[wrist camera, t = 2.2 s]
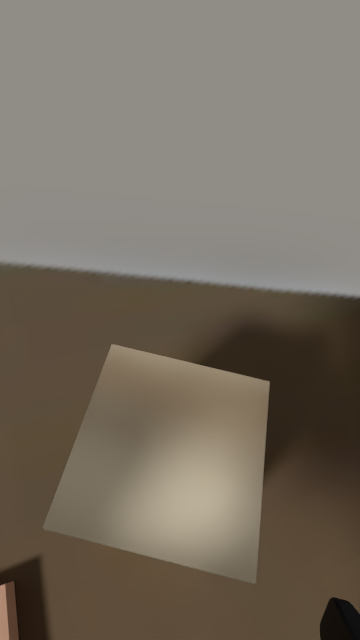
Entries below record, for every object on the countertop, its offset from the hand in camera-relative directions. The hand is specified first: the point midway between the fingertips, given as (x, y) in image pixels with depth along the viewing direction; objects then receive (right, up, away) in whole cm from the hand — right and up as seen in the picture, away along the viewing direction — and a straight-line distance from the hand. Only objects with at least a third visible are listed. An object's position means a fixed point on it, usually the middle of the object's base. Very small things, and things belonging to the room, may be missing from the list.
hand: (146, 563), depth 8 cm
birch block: (0, -3, +10) cm, 10 cm away
